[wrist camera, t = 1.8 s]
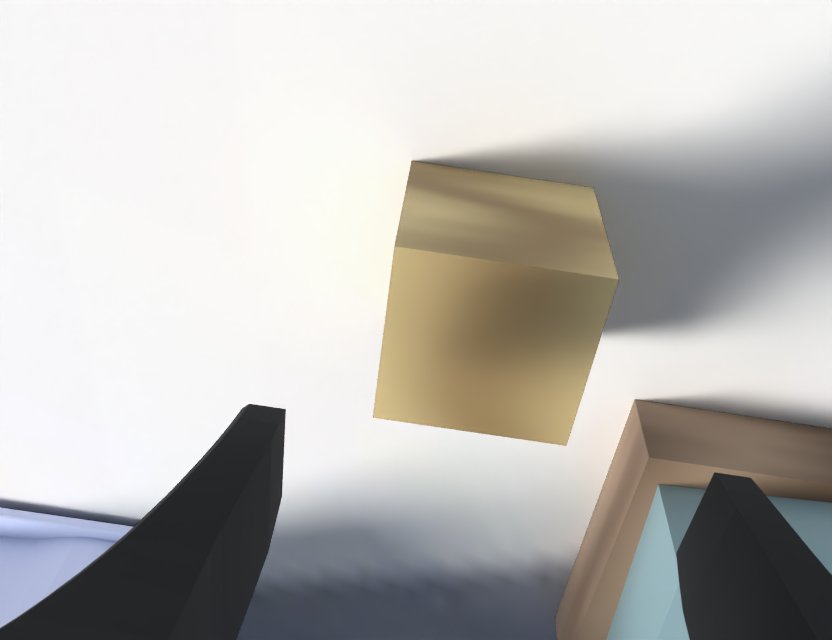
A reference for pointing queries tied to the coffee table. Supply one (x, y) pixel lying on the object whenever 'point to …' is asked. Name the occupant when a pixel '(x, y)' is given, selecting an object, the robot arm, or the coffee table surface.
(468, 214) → the ochre cube
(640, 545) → the tower top
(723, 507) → the robot arm
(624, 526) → the tower base
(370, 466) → the coffee table surface
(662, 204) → the coffee table surface
